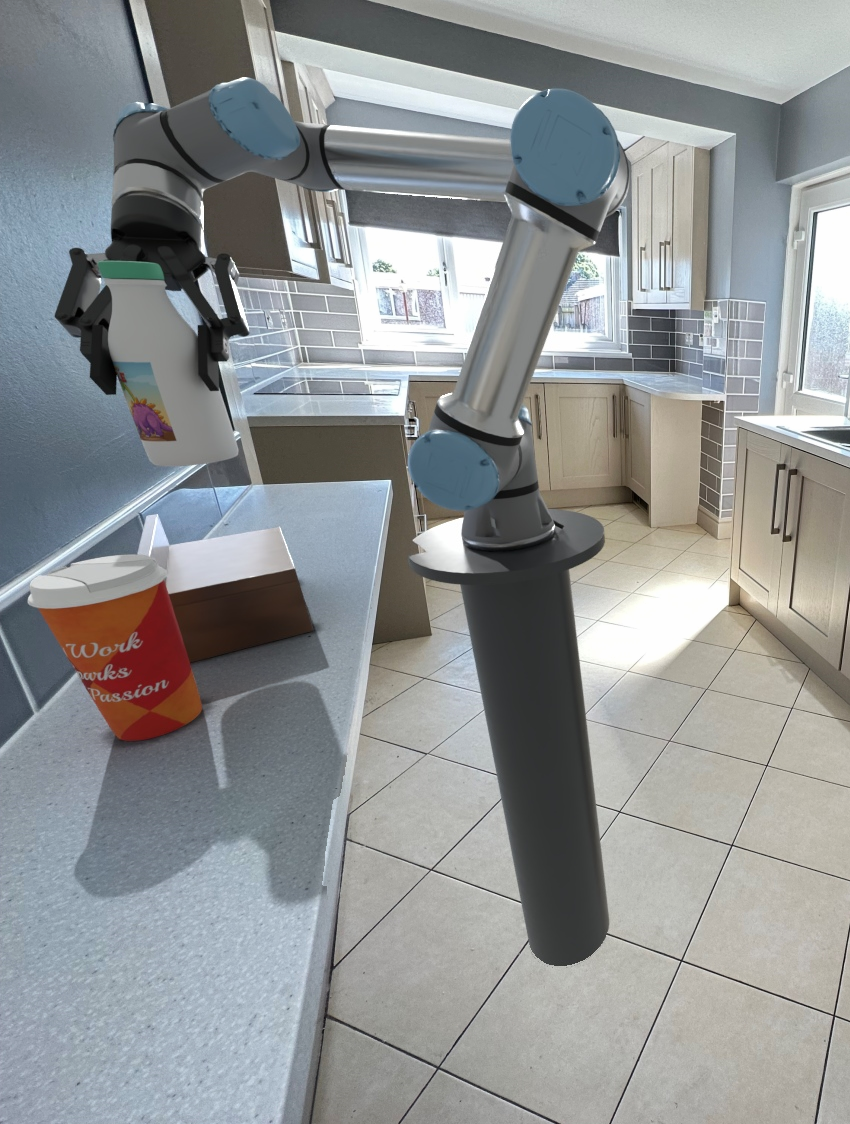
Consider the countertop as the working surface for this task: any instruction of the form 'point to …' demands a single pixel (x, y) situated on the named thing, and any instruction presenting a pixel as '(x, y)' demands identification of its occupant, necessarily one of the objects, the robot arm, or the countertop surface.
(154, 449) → the milk bottle
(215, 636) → the brown wooden box
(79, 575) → the coffee cup
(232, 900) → the countertop surface
